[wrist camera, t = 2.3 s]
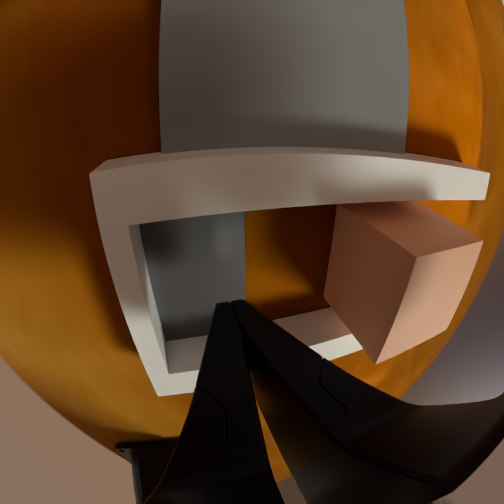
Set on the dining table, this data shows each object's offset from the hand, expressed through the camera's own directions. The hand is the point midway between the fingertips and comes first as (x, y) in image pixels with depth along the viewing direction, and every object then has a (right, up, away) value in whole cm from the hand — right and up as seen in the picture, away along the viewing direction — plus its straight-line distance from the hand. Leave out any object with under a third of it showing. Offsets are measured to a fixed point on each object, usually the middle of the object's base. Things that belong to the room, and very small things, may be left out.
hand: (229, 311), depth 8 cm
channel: (+5, +2, +3) cm, 6 cm away
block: (+6, +2, +4) cm, 7 cm away
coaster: (+2, +9, -2) cm, 10 cm away
